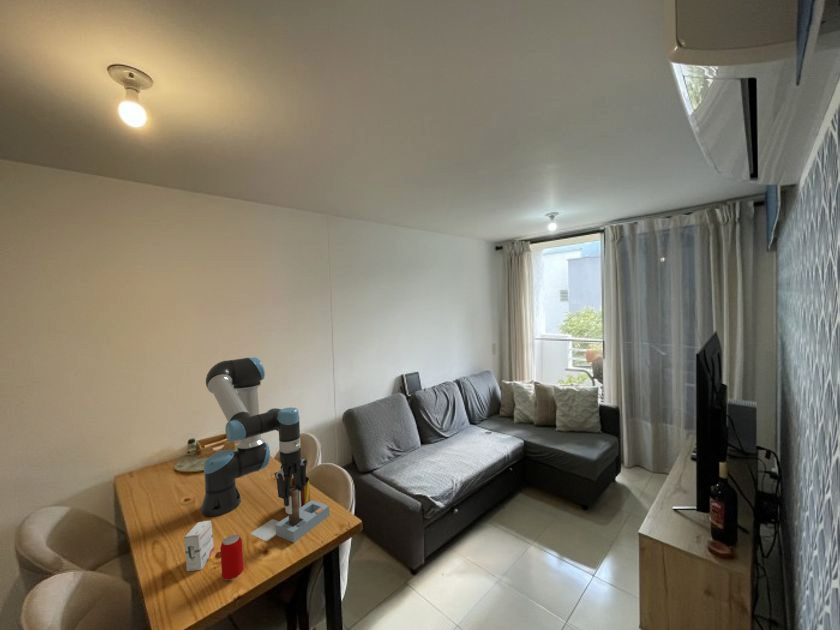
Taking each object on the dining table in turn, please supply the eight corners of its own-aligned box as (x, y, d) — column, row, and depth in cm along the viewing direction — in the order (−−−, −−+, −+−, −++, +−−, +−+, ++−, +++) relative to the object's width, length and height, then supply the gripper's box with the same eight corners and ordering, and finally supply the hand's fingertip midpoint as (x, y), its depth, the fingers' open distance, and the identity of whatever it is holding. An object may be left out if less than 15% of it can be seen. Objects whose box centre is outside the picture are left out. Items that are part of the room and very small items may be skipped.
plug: (286, 522, 128) (285, 491, 128) (294, 517, 131) (293, 487, 131) (293, 525, 126) (291, 494, 126) (301, 519, 130) (300, 489, 129)
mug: (295, 523, 136) (293, 494, 136) (283, 508, 146) (282, 481, 146) (317, 513, 142) (316, 485, 142) (305, 499, 153) (304, 473, 152)
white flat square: (250, 536, 129) (249, 533, 129) (272, 521, 138) (272, 518, 138) (266, 544, 124) (266, 541, 124) (289, 528, 133) (289, 525, 133)
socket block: (276, 537, 128) (275, 523, 127) (312, 511, 143) (311, 499, 143) (294, 545, 123) (293, 531, 123) (329, 517, 138) (329, 505, 138)
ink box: (200, 553, 121) (198, 521, 120) (214, 552, 121) (212, 519, 121) (185, 572, 112) (183, 537, 112) (201, 570, 112) (199, 535, 112)
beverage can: (233, 566, 114) (231, 531, 113) (247, 569, 112) (246, 534, 112) (217, 580, 108) (215, 543, 108) (232, 584, 106) (230, 547, 106)
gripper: (278, 460, 119) (281, 525, 120) (314, 442, 134) (317, 501, 134) (264, 456, 123) (268, 519, 123) (300, 440, 138) (303, 496, 138)
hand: (293, 509), depth 129 cm, fingers closed on plug, 4 cm apart
